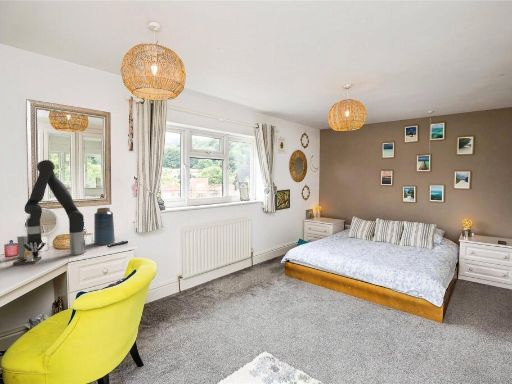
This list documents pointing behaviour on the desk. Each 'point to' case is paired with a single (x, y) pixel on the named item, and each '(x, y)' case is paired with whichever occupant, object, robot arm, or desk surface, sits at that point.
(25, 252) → the orange rectangular block
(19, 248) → the skincare box
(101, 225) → the blue lidded jar
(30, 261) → the panel
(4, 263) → the desk surface
